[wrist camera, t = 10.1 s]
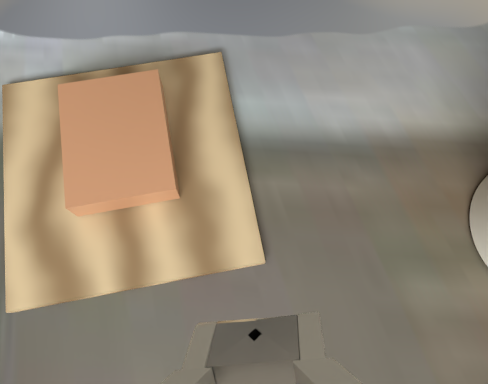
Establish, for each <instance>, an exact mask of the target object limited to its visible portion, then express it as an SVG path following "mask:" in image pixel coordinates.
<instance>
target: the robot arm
mask: <svg viewBox="0 0 488 384" xmlns="http://www.w3.org/2000/svg"><path fill="white" fill-rule="evenodd" d="M470 228H471V233H472V237H473V240H474V243H475V246H476V248H477V250H478V252H479V254H480V256H481V258H482V259H483V261H484V262H485V264H486V265H487V266H488V175H487V177H486V178H485V179H484V180H483V181H482V182H481V184H480V185H479V186H478V188H477V190H476V192H475V194H474V196H473V199H472V202H471V207H470ZM160 384H363V383H361V382H360V381H359V380H358V379H357V378H356V377H354V376H353V375H352V374H351V373H350V372H349V371H347V370H346V369H345V368H344V367H343V366H341V365H340V364H339V363H338V362H337V361H336V360H334V359H333V358H326V355H325V348H324V341H323V334H322V328H321V321H320V314H319V312H310V313H303V314H298V315H290V316H281V317H272V318H263V319H245V320H231V321H218V322H207V323H199V324H197V325H196V327H195V330H194V333H193V336H192V339H191V342H190V345H189V348H188V351H187V354H186V358H185V361H184V364H183V367H182V370H175V371H174V372H173V373H172V374H171V375H170V376H169V377H167V378H166V379H165V380H164V381H163V382H162V383H160Z"/></svg>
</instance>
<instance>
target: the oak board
mask: <svg viewBox="0 0 488 384" xmlns="http://www.w3.org/2000/svg"><path fill="white" fill-rule="evenodd" d="M156 69H158V71H159V75H160V78H161V81H162V84H163V90H164V96H165V103H166V109H167V116H168V122H169V129H170V135H171V142H172V148H173V155H174V161H175V168H176V174H177V180H178V187H179V193H180V198H179V199H174V200H168V201H163V202H157V203H151V204H146V205H140V206H135V207H129V208H123V209H118V210H112V211H107V212H101V213H95V214H90V215H84V216H79V217H78V216H76V215H75V214H73V213H72V212H70V211H69V210H67V209H66V208H65V194H64V179H63V163H62V147H61V131H60V116H59V100H58V84H64V83H71V82H77V81H84V80H91V79H97V78H104V77H110V76H117V75H123V74H130V73H136V72H143V71H150V70H156ZM2 94H3V158H4V221H5V284H6V313H13V312H18V311H23V310H28V309H34V308H39V307H44V306H49V305H54V304H59V303H64V302H70V301H75V300H80V299H85V298H90V297H95V296H100V295H106V294H111V293H116V292H121V291H126V290H131V289H136V288H141V287H147V286H152V285H157V284H162V283H167V282H172V281H177V280H183V279H188V278H193V277H198V276H203V275H208V274H213V273H219V272H224V271H229V270H234V269H239V268H244V267H249V266H255V265H260V264H265V258H264V253H263V248H262V243H261V239H260V234H259V229H258V224H257V220H256V215H255V210H254V205H253V201H252V196H251V191H250V186H249V182H248V177H247V172H246V167H245V163H244V158H243V153H242V148H241V144H240V139H239V134H238V129H237V125H236V120H235V115H234V110H233V106H232V101H231V96H230V91H229V86H228V82H227V77H226V72H225V67H224V63H223V58H222V53H221V52H218V53H211V54H205V55H198V56H191V57H185V58H178V59H172V60H165V61H158V62H152V63H145V64H139V65H132V66H125V67H119V68H112V69H105V70H99V71H92V72H86V73H79V74H72V75H66V76H59V77H53V78H46V79H39V80H33V81H26V82H19V83H13V84H6V85H2Z"/></svg>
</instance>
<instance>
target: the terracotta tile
mask: <svg viewBox="0 0 488 384" xmlns="http://www.w3.org/2000/svg"><path fill="white" fill-rule="evenodd" d="M58 100H59V116H60V131H61V147H62V163H63V179H64V194H65V208H66V209H67V210H69V211H70V212H72V213H73V214H75V215H76V216H78V217H79V216H84V215H90V214H95V213H101V212H107V211H112V210H118V209H123V208H129V207H135V206H140V205H146V204H151V203H157V202H163V201H168V200H174V199H179V198H180V193H179V187H178V180H177V174H176V168H175V161H174V155H173V148H172V142H171V135H170V129H169V122H168V116H167V109H166V103H165V96H164V90H163V84H162V81H161V78H160V75H159V71H158V69H156V70H150V71H143V72H136V73H130V74H123V75H117V76H110V77H104V78H97V79H91V80H84V81H77V82H71V83H64V84H58Z"/></svg>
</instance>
